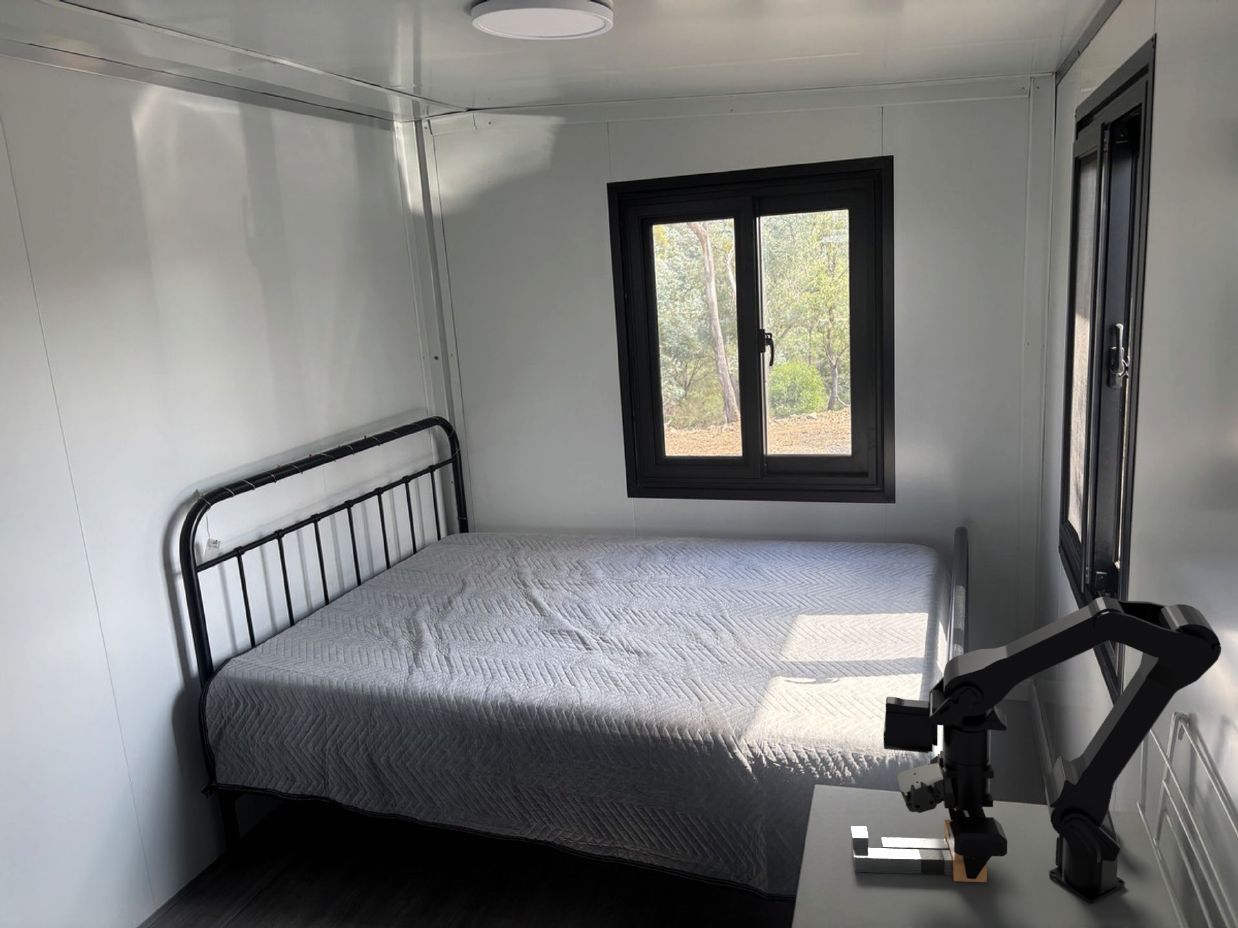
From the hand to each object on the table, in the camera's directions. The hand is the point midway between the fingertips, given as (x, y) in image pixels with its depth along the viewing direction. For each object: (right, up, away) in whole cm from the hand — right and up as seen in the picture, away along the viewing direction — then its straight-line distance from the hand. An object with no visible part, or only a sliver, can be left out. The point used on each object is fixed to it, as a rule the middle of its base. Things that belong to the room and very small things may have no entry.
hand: (965, 859), depth 127 cm
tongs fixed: (-4, -1, +1) cm, 4 cm away
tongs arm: (-8, -1, +1) cm, 8 cm away
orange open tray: (0, -1, 0) cm, 1 cm away
